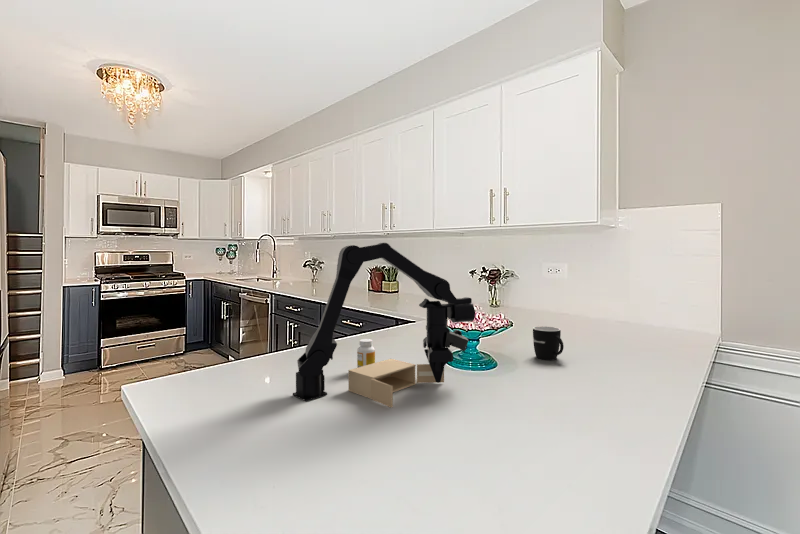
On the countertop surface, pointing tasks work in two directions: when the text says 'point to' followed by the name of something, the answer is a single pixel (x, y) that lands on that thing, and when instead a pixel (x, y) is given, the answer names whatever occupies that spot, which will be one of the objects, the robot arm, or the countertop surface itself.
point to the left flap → (382, 392)
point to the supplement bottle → (365, 353)
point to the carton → (381, 376)
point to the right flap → (426, 374)
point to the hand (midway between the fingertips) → (436, 379)
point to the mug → (547, 342)
